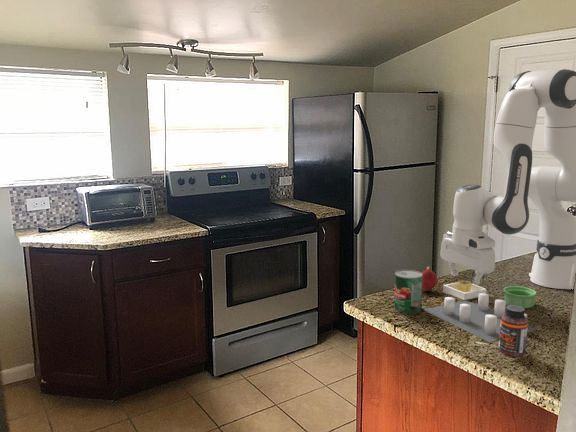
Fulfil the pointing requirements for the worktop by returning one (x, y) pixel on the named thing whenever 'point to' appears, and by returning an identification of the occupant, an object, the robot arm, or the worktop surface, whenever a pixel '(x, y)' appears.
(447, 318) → the mat
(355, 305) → the worktop surface
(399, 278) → the canned tomato
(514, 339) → the supplement bottle
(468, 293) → the ceramic dish
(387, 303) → the worktop surface
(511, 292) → the ramekin
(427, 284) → the pomegranate
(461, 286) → the tan faceted block
